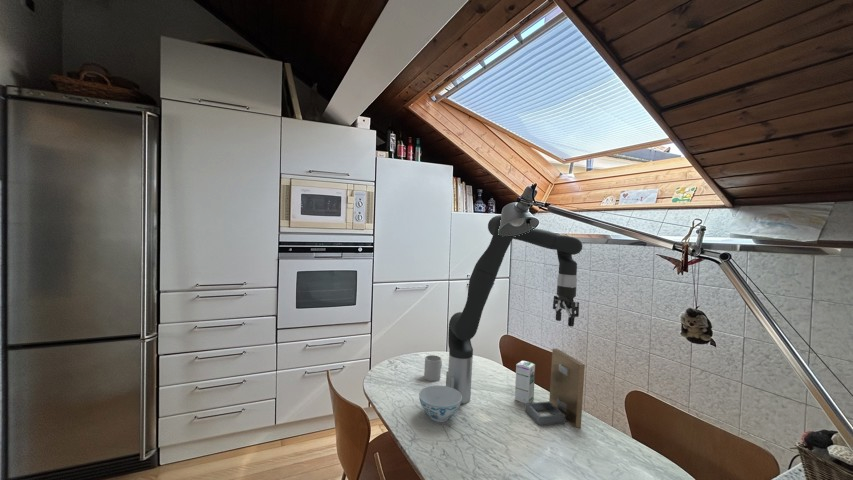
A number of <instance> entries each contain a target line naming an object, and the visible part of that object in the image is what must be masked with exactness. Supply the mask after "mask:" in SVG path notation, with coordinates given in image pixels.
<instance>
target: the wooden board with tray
mask: <svg viewBox="0 0 853 480" xmlns="http://www.w3.org/2000/svg"><path fill="white" fill-rule="evenodd" d="M551 350H552V353H551V368H550V385H549V401H535V402H533V401H532V402H530V403H526V404H525V408H524V411H525V413H527V415H529V417H530V418H531V419H532V420H533V421H534V422H535V423H536V424H537V425H538V426H539V427H542V426H552V425H553V426H554V425H555V426H556V425H564V424H565V422H566V421H567V423H569V424H570V425H571V426H572V427H573V428H575V429H581V428H582V416H583V414H582V413H583V398H584V386H585V385H584V382H585V367H586V364H585V363H583V362H581V361H579V360H577V359H576V358H574V357H573V356H571V355H569V354H567V353H566V352H564V351H562V350H561V349H559V348H552V349H551ZM545 411H547V412H549V413H550V414H549V415H541V414H540V413H539V412H545Z"/></svg>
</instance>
